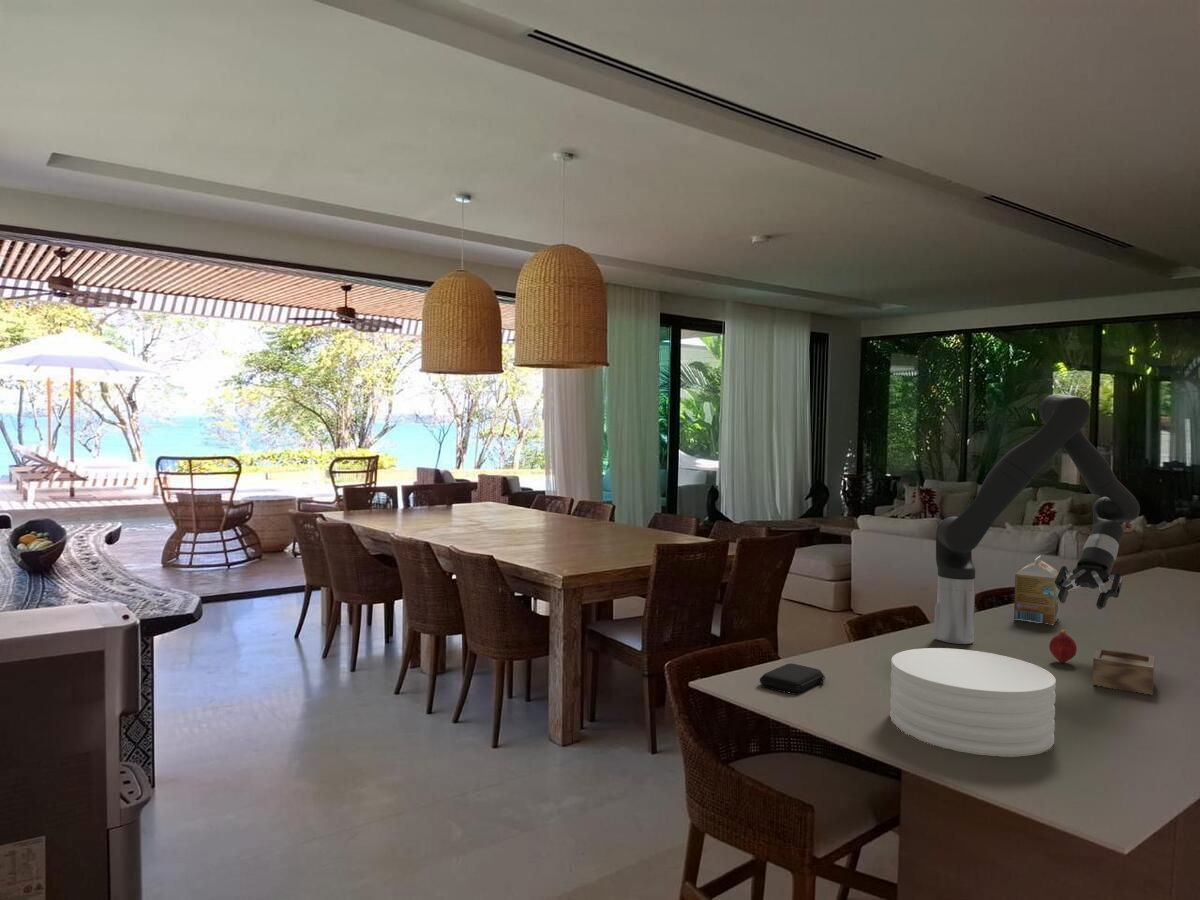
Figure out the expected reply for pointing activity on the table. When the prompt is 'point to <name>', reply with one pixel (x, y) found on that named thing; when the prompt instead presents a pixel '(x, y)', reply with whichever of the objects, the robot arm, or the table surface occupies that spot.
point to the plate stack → (973, 700)
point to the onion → (1063, 647)
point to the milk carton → (1036, 593)
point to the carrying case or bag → (792, 678)
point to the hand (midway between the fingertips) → (1079, 604)
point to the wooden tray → (1123, 671)
